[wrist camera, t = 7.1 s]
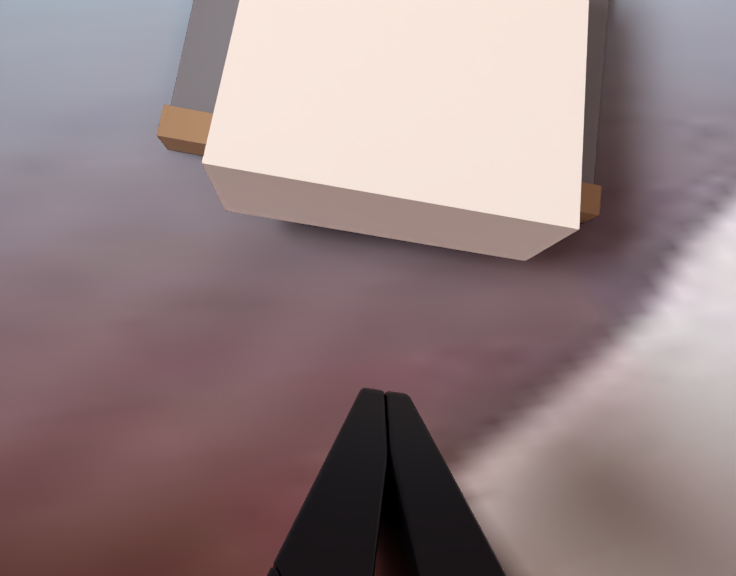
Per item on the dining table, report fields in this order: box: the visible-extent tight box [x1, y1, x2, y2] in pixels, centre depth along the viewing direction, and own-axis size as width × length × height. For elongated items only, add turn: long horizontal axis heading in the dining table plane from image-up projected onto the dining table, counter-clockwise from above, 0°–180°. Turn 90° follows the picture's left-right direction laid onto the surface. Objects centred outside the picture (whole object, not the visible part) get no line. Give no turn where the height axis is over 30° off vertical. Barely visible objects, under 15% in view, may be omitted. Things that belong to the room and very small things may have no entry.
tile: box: [202, 0, 589, 261], centre depth 14 cm, size 3×9×10 cm
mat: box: [157, 0, 609, 223], centre depth 16 cm, size 13×14×1 cm
